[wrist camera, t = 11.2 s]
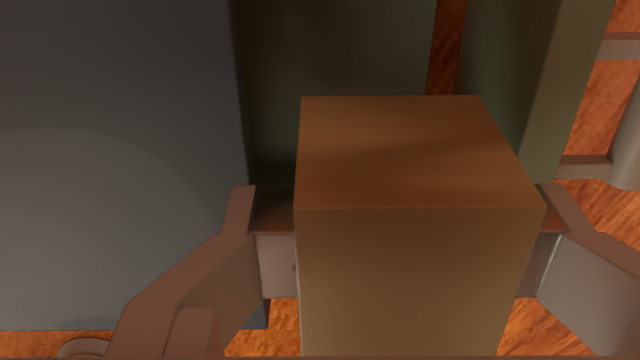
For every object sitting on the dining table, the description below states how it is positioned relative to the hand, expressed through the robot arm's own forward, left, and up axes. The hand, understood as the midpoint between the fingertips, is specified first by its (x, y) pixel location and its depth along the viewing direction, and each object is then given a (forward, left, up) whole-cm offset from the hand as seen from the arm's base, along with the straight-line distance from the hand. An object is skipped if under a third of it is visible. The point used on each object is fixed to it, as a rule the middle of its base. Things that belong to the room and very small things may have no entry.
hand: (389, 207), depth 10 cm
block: (0, 0, -2) cm, 2 cm away
